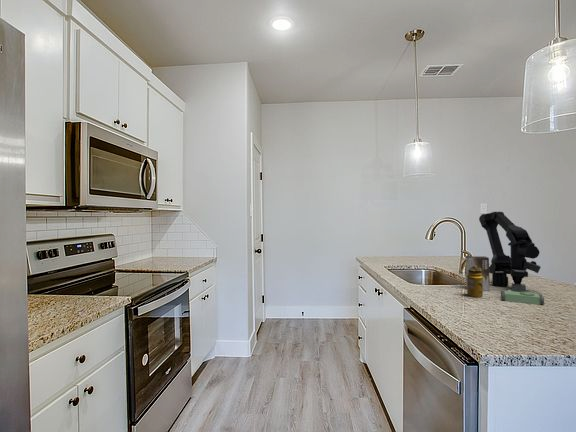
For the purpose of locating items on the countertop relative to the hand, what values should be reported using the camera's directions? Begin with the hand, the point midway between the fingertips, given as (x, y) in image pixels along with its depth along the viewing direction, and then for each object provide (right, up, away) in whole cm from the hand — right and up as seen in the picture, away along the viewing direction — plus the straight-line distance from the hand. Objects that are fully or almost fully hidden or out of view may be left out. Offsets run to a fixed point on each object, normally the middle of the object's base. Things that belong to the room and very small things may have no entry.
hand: (518, 288), depth 156 cm
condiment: (-25, -2, -7) cm, 26 cm away
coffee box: (-15, -2, +7) cm, 17 cm away
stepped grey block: (-2, -2, -3) cm, 4 cm away
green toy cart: (-8, -2, -13) cm, 15 cm away
